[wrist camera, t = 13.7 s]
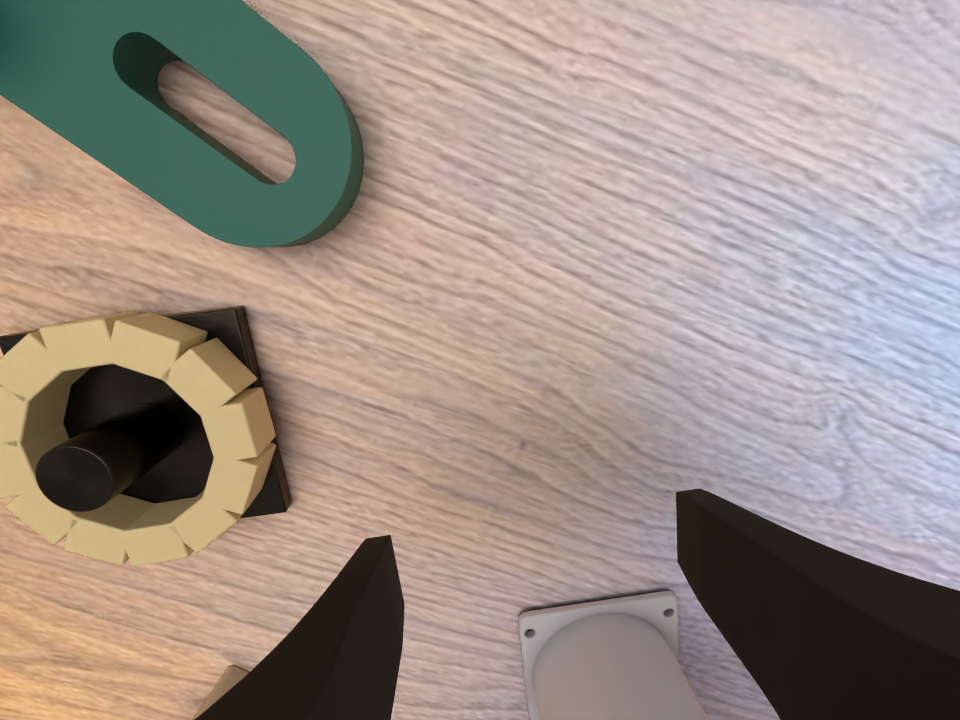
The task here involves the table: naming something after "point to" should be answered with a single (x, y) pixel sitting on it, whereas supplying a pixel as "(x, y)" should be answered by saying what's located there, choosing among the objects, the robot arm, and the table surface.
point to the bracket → (170, 136)
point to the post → (145, 433)
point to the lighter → (223, 686)
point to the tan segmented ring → (191, 374)
